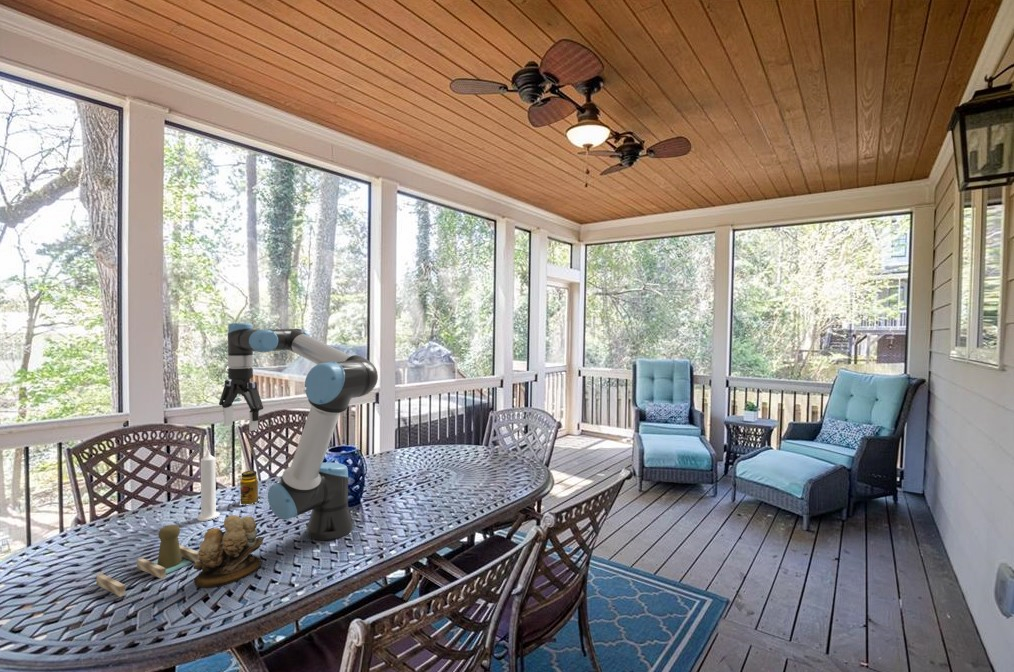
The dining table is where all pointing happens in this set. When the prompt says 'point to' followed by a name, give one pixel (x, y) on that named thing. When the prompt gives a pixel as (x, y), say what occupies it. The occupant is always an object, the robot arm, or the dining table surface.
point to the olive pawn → (169, 547)
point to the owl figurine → (228, 553)
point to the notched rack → (149, 568)
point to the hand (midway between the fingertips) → (240, 428)
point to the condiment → (249, 487)
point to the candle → (208, 488)
